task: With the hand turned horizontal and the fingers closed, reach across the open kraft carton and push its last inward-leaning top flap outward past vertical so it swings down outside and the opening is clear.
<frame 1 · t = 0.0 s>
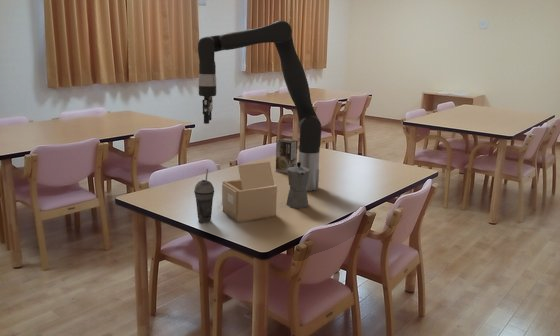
hand: (207, 121, 221), 29 cm above the table, tool pointing down, fingers open, 8 cm apart
carton: (249, 213, 195), on the table
coffee box: (286, 171, 257), on the table
beverage cup: (204, 221, 186), on the table
coffeepot: (296, 204, 208), on the table
flap: (256, 175, 187), point 17 cm above the table, hinge at -25.0°
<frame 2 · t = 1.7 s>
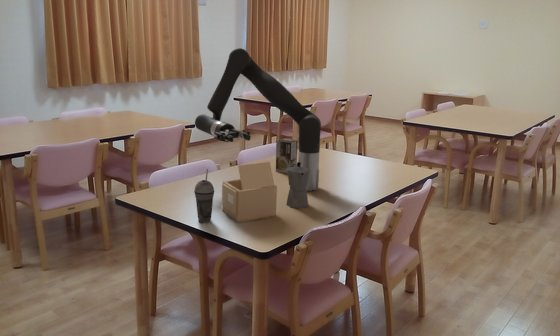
hand: (240, 138, 195), 28 cm above the table, tool horizontal, fingers open, 6 cm apart
nothing on the table moved.
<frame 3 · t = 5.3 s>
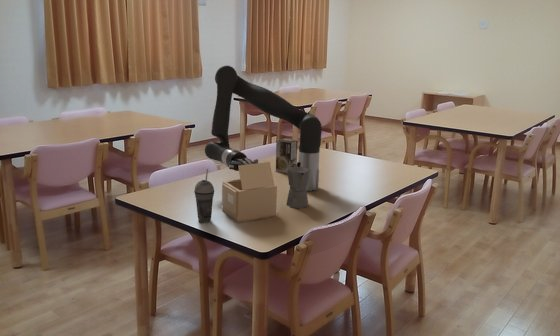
hand: (254, 169, 187), 19 cm above the table, tool horizontal, fingers closed
flap: (256, 175, 187), point 17 cm above the table, hinge at -25.0°, touching gripper
everything else where it was.
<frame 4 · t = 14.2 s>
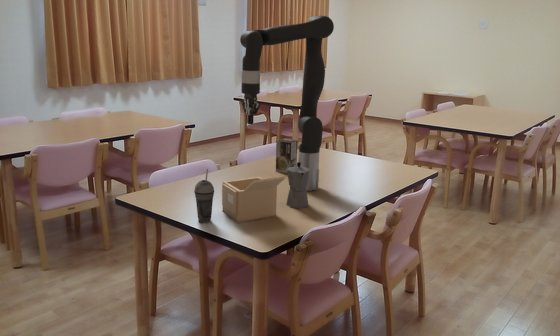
hand: (250, 123, 210), 31 cm above the table, tool pointing down, fingers closed
flap: (264, 184, 182), point 15 cm above the table, hinge at 52.8°
everything else where it was.
at the end: flap at +53° (first picture: -25°); the gripper is holding nothing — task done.
